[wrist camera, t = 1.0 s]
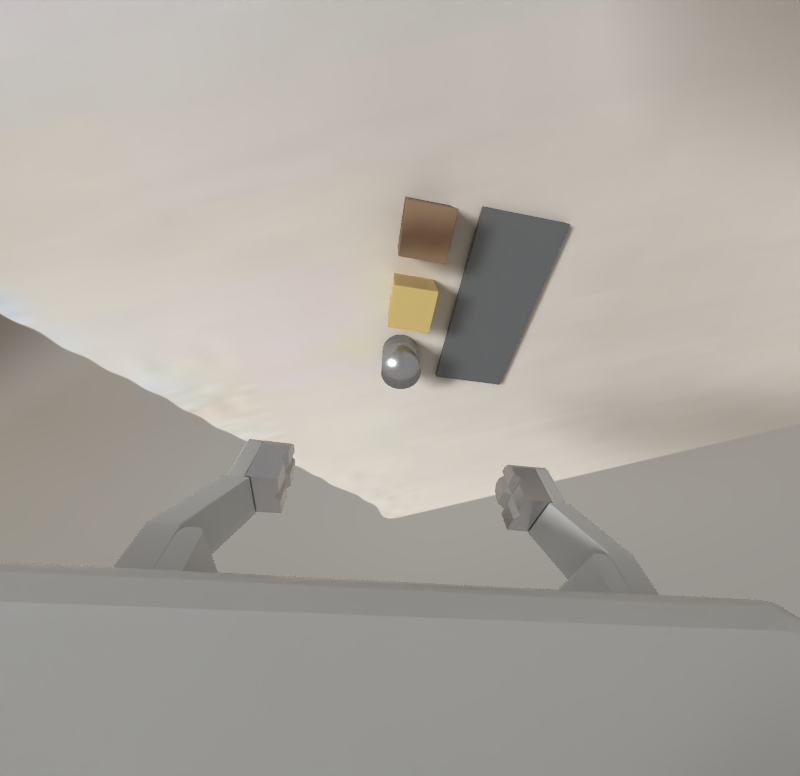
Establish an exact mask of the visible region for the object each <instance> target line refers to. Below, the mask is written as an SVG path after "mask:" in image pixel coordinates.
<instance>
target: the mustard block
mask: <svg viewBox="0 0 800 776" xmlns="http://www.w3.org/2000/svg"><path fill="white" fill-rule="evenodd" d="M438 293H439V292H438V289H437V287H436V284H435V282H434V280H432V279H426V278H420V277H414V276H408V275H402V274H396V273H394V277H393V284H392V291H391V297H390V304H389V311H388V327H391V328H398V329H405V330H412V331H418V332H425V333H429V330H430V326H431V322H432V318H433V313H434V309H435V305H436V301H437V297H438Z"/></svg>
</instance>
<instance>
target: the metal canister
mask: <svg viewBox="0 0 800 776" xmlns="http://www.w3.org/2000/svg"><path fill="white" fill-rule="evenodd" d="M381 374H382V378H383V380H384V381H385V383H386V384H388V385H389V386H391V387H393V388H397V389H405V388H408V387H411V386H413V385H414V384H415V383H416V382H417V381H418V379H419V377H420V364H419V357H418V350H417V345H416V343H415V342H414V340H413V339H411V338H410V337H408V336H405V335H395V336H392V337H390V338H389V339H388V340H387V341H386V342H385V344H384V346H383V355H382V371H381Z"/></svg>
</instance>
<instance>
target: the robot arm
mask: <svg viewBox="0 0 800 776" xmlns="http://www.w3.org/2000/svg"><path fill="white" fill-rule="evenodd" d="M293 454H294V445H293V444H288V443H280V442H272V441H262V440H254V439H250V440H249V441H247V442H246V444H245V446H244V447H243V449H242V451H241V453H240V454H239V456H238V458H237V459H236V461H235V463H234V464H233V466H232V468H231V470H230V471H229V473H228V475H222V476H220V477H218V478H217V479H215V480H214V481H212V482H210V483H209V484H207V485H206V486H204V487H203V488H201V489H199V490H198V491H196V492H195V493H193V494H191V495H190V496H188V497H186V498H185V499H183V500H182V501H180V502H179V503H177V504H175V505H174V506H172V507H171V508H169V509H167V510H166V511H164V512H163V513H161V514H159V515H158V516H156V517H155V518H153V519H151V520H150V521H148V522H147V523H146V524H145V525H144V527H143V528H142V529H141V531H140V532H139V533H138V535H137V536H136V537H135V539H134V540H133V541H132V543H131V544H130V545H129V547H128V548H127V549H126V551H125V552H124V553H123V555H122V556H121V557H120V559H119V560H118V561H117V563H116V564H115V565H114V567H100V566H80V565H79V566H78V565H61V564H42V563H23V562H22V563H21V562H2V561H0V776H800V618H799V617H797V616H795V615H794V614H792V613H791V612H789V611H787V610H786V609H784V608H783V607H781V606H779V605H777V604H775V603H772V602H768V601H763V600H749V599H729V598H710V597H709V598H708V597H690V596H670V595H659V594H658V592H657V591H656V589H655V588H654V586H653V585H652V583H651V582H650V580H649V579H648V577H647V576H646V574H645V573H644V571H643V570H642V568H641V567H640V565H639V564H638V562H637V561H636V559H635V558H634V556H633V555H632V554H631V553H629V552H628V551H627V550H626V549H624V548H623V547H622V546H621V545H620V544H618V543H617V542H616V541H615V540H613V539H612V538H611V537H610V536H609V535H607V534H606V533H605V532H604V531H602V530H601V529H600V528H599V527H597V526H596V525H595V524H594V523H593V522H591V521H590V520H589V519H588V518H586V517H585V516H584V515H583V514H581V513H580V512H579V511H578V510H577V509H575V508H574V507H573V506H572V505H570V504H566V502H565V500H564V499H563V497H562V495H561V493H560V492H559V490H558V488H557V486H556V484H555V483H554V481H553V479H552V477H551V476H550V474H549V472H548V471H547V470H546V469H545V468H537V467H526V466H515V465H507V466H506V467H505V468H504V470H503V474H504V476H502V477H501V478H499V479H498V481H497V483H496V489H495V493H496V498H497V501H498V503H499V504H500V505H501V506H502V507H503V511H502V516H503V518H504V522H505V524H506V528H507V529H508V530H517V531H527V532H528V533H529V534H530V535H531V537H533V539H534V540H535V541H536V543H537V544H538V545H539V546H540V547H541V548H542V550H543V551H544V552H545V553H546V554H547V555H548V557H549V558H550V559H551V560H552V561H553V562H554V563H555V565H556V566H557V567H558V568H559V569H560V571H561V572H562V573H563V574H564V575H565V577H566V578H567V579H568V580H567V581H566V582H565V583H564V584H563V585H562V586H561V587H560V588H559V590H551V589H531V588H511V587H493V586H473V585H453V584H434V583H415V582H395V581H375V580H354V579H334V578H315V577H296V576H276V575H255V574H235V573H218V571H217V569H216V566H215V563H214V560H213V558H212V555H211V554H212V553H213V552H214V551H216V550H217V549H218V548H219V547H220V546H221V545H222V544H223V543H224V542H225V541H226V540H227V539H228V538H230V536H231V535H233V534H234V533H235V532H236V531H237V530H238V529H239V528H240V527H241V526H242V525H243V524H245V523H246V522H247V521H248V520H249V519H250V518H251V517H252V516H253V515H254V514H255V512H274V513H281V512H282V509H283V506H284V503H285V500H286V497H287V490H286V489H287V488H288V487H289V486H291V483H292V480H293V476H294V471H295V460H294V458H293Z"/></svg>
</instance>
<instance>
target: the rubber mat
mask: <svg viewBox="0 0 800 776" xmlns="http://www.w3.org/2000/svg"><path fill="white" fill-rule="evenodd" d="M569 225H570V224H567V223H563V222H558V221H553V220H548V219H543V218H538V217H533V216H528V215H523V214H518V213H513V212H508V211H503V210H498V209H493V208H488V207H483V206H482V210H481V213H480V217H479V220H478V224H477V228H476V231H475V235H474V238H473V242H472V245H471V249H470V253H469V256H468V260H467V263H466V267H465V270H464V274H463V278H462V281H461V285H460V288H459V292H458V295H457V299H456V303H455V306H454V310H453V313H452V317H451V320H450V324H449V328H448V331H447V335H446V338H445V342H444V345H443V349H442V353H441V356H440V360H439V363H438V367H437V370H436V376H438V377H445V378H453V379H461V380H468V381H476V382H484V383H491V384H500V382H501V380H502V377H503V375H504V373H505V371H506V368H507V366H508V364H509V362H510V359H511V357H512V355H513V352H514V350H515V348H516V346H517V343H518V341H519V339H520V337H521V334H522V332H523V330H524V327H525V325H526V323H527V321H528V318H529V316H530V314H531V312H532V309H533V307H534V305H535V303H536V300H537V298H538V296H539V293H540V291H541V289H542V287H543V284H544V282H545V280H546V278H547V275H548V273H549V271H550V268H551V266H552V264H553V262H554V259H555V257H556V255H557V253H558V250H559V248H560V246H561V243H562V241H563V239H564V237H565V234H566V232H567V230H568V228H569Z"/></svg>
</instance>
